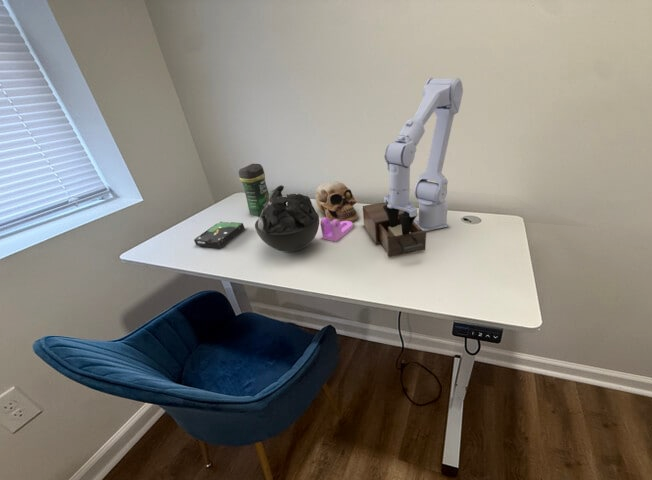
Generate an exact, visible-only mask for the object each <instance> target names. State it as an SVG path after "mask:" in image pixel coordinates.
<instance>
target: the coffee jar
mask: <svg viewBox="0 0 652 480" xmlns="http://www.w3.org/2000/svg"><path fill="white" fill-rule="evenodd" d="M237 172H238V176H239V180H240V182H241V183H242V186H243V190H244V194H245V198H246V202H247V208H248V211H249V214H250V215H252V216H254V217H255V216H256V217H260V215H261V213H262V210H263V209H264V206H265V203H266V201H267V199H268V198H269V194H270V192H269V190H268V187H267V183H266V174H265V170H264V166H263V165H262V164H260V163H251V164H248V165H246V166H244V167H242V168H239V169H238V170H237Z"/></svg>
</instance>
